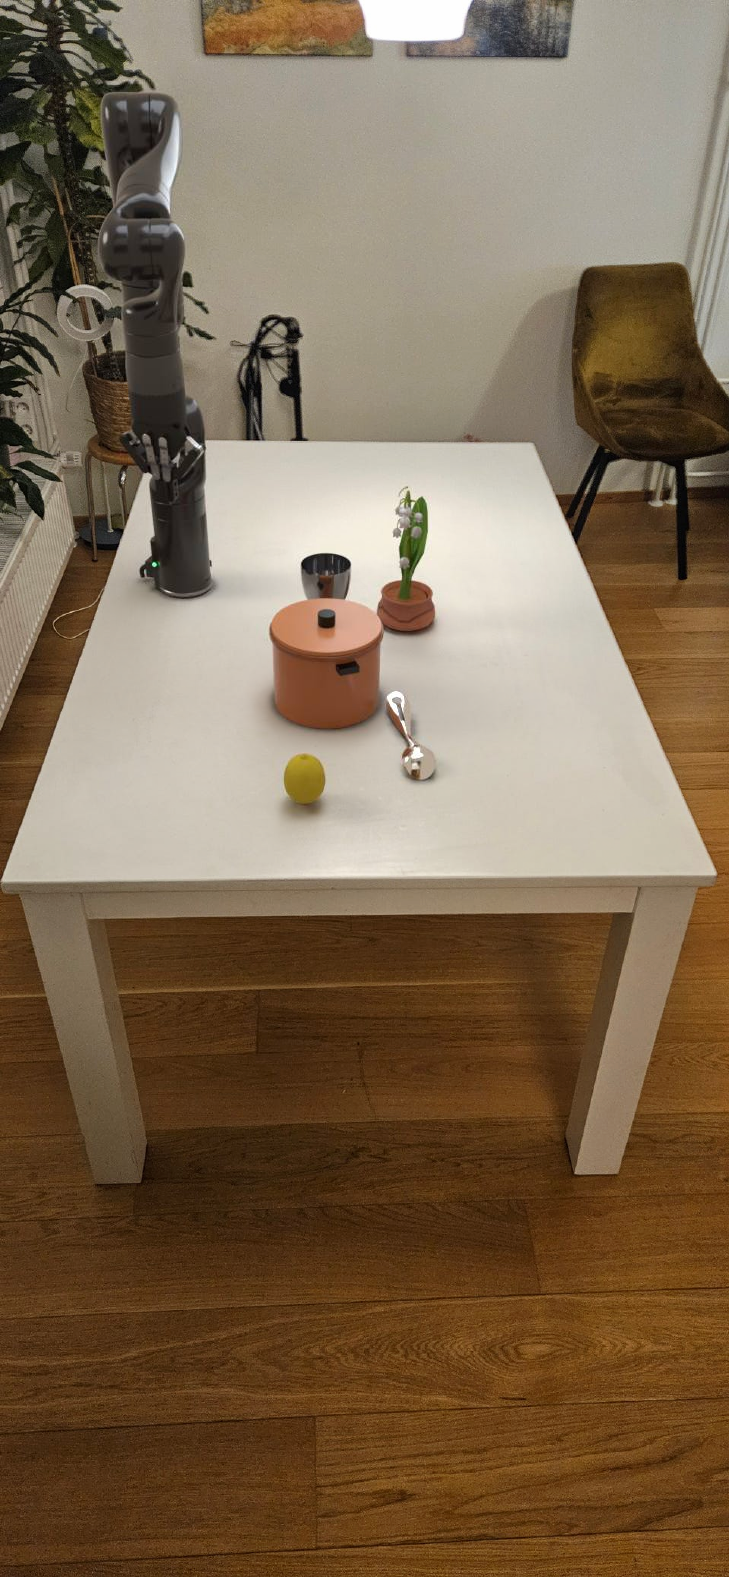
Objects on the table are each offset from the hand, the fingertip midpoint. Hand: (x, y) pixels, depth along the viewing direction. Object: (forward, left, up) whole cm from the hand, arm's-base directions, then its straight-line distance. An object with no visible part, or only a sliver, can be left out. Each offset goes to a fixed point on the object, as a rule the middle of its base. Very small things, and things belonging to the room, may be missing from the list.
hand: (168, 502), depth 158 cm
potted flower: (+29, +26, -28) cm, 48 cm away
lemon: (+30, -26, -28) cm, 49 cm away
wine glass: (+19, +14, -28) cm, 37 cm away
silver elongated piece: (+39, -7, -28) cm, 49 cm away
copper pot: (+24, -1, -28) cm, 37 cm away
